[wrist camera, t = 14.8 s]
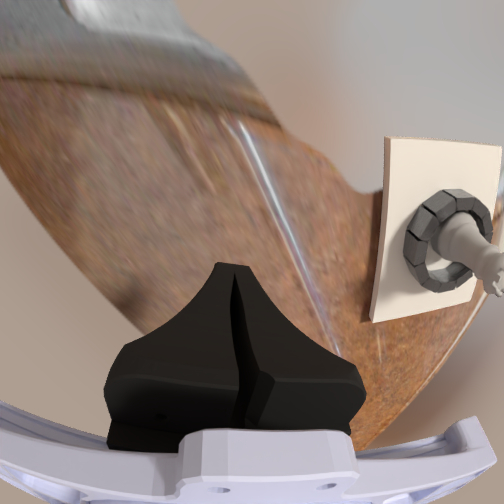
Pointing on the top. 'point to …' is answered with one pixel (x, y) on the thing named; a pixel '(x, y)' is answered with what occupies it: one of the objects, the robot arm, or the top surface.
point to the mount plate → (411, 197)
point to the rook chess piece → (470, 250)
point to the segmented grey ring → (426, 226)
